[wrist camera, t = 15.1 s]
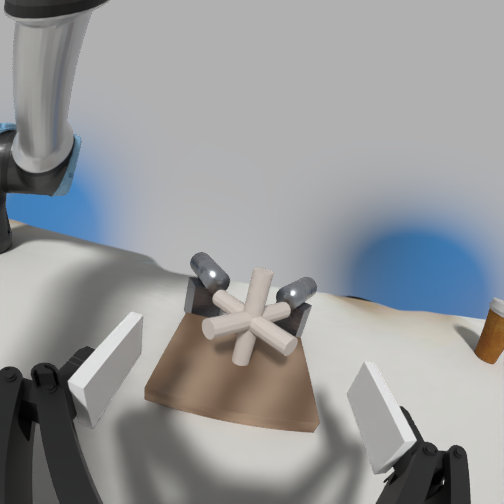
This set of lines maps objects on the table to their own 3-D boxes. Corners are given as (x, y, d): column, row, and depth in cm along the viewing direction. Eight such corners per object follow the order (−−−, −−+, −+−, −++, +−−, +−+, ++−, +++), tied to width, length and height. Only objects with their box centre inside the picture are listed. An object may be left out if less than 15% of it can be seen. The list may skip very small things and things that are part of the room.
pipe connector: (173, 344, 26) (185, 253, 24) (243, 327, 34) (262, 251, 31) (235, 408, 20) (265, 304, 17) (305, 371, 27) (337, 286, 24)
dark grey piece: (286, 349, 33) (305, 293, 32) (260, 336, 35) (276, 281, 33) (305, 331, 39) (322, 282, 37) (282, 320, 41) (297, 272, 39)
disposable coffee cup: (488, 349, 42) (509, 302, 39) (506, 369, 32) (531, 317, 30) (463, 343, 43) (485, 293, 41) (480, 365, 34) (507, 309, 32)
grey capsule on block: (223, 328, 35) (235, 272, 33) (194, 329, 33) (204, 270, 31) (205, 303, 41) (215, 253, 39) (180, 303, 39) (188, 251, 37)
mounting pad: (144, 399, 20) (144, 387, 19) (185, 321, 34) (186, 312, 34) (313, 432, 20) (319, 422, 20) (296, 346, 35) (300, 337, 34)
